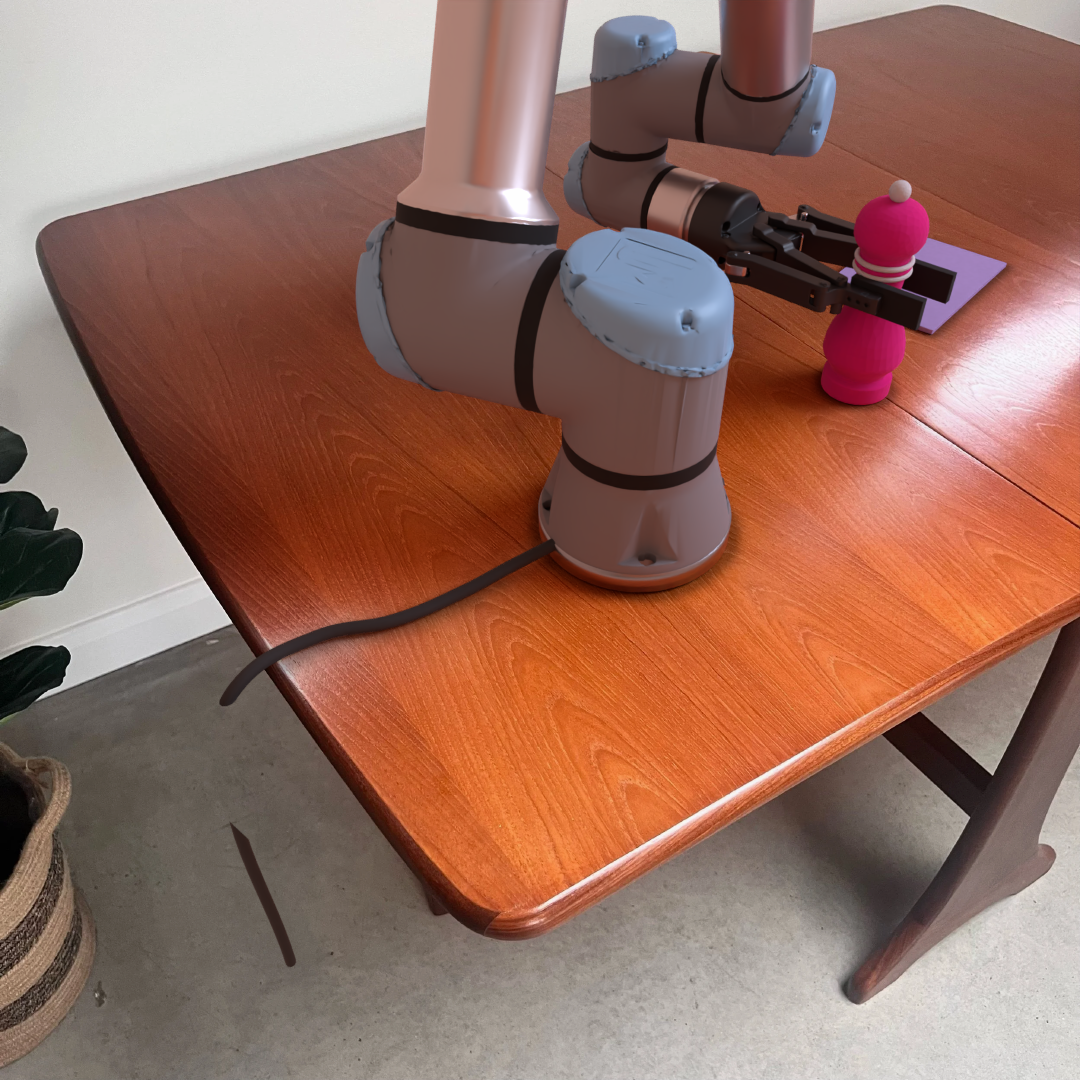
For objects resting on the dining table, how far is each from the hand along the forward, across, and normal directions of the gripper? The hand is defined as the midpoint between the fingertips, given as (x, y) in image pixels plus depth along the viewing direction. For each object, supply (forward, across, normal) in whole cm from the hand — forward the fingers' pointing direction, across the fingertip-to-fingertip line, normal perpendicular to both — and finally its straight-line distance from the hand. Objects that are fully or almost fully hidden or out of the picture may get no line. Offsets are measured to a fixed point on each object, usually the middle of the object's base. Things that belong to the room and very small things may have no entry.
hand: (936, 301), depth 88 cm
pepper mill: (-5, 0, -11) cm, 12 cm away
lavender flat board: (-10, -22, -11) cm, 27 cm away
